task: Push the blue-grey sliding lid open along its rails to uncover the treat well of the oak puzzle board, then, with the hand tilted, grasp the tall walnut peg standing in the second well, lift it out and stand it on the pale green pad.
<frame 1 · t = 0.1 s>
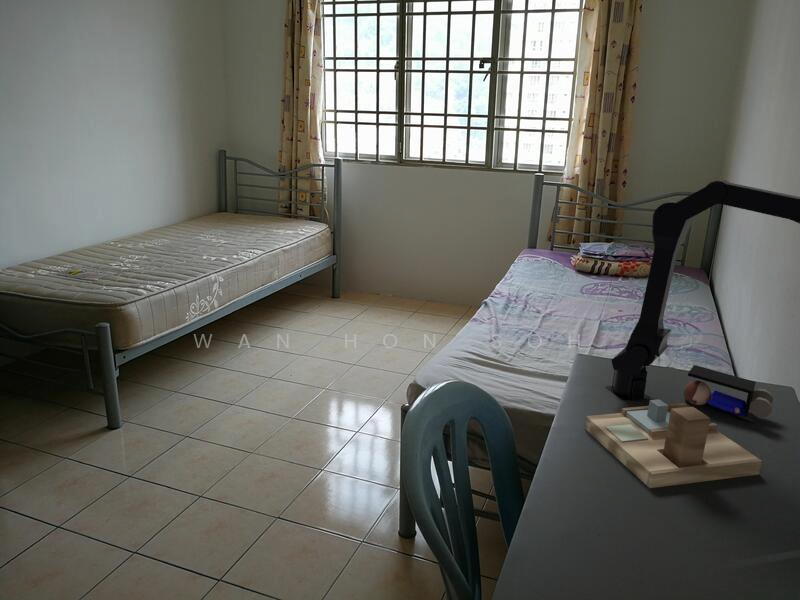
lid: (657, 412, 112), point 5 cm above the table, slide at 0.0 cm
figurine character: (723, 412, 125), on the table
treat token: (653, 435, 113), point 1 cm above the table, touching puzzle board
peg: (679, 470, 102), point 1 cm above the table, touching puzzle board
puzzle board: (666, 453, 108), on the table
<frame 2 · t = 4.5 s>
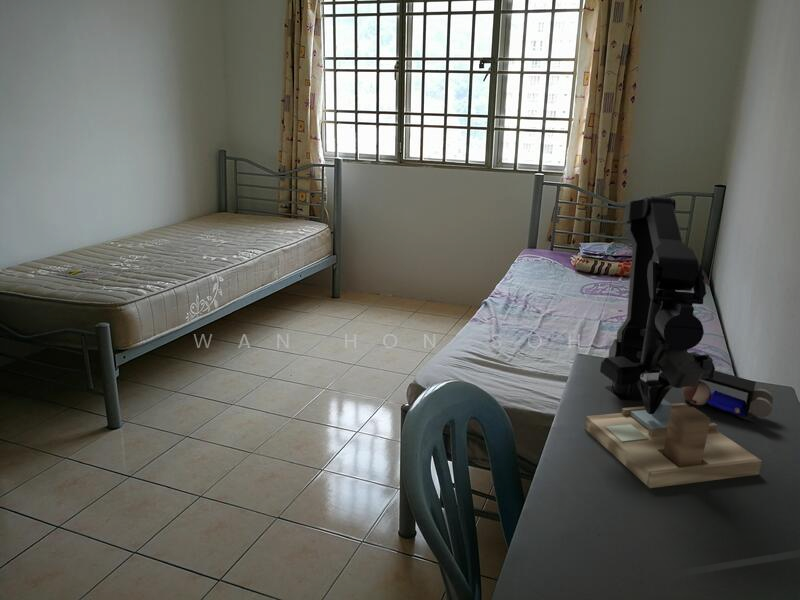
hand: (650, 413, 111), 5 cm above the table, tool pointing down, fingers closed
lid: (661, 412, 112), point 5 cm above the table, slide at 0.9 cm, touching gripper
everything else where it was.
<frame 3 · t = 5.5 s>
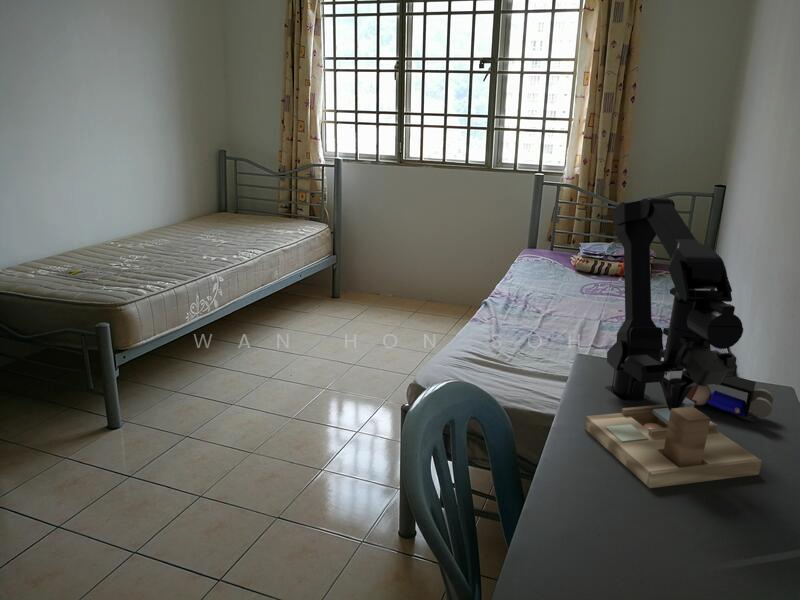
hand: (672, 411, 112), 5 cm above the table, tool pointing down, fingers closed
lid: (683, 410, 113), point 5 cm above the table, slide at 5.4 cm, touching gripper
everything else where it was.
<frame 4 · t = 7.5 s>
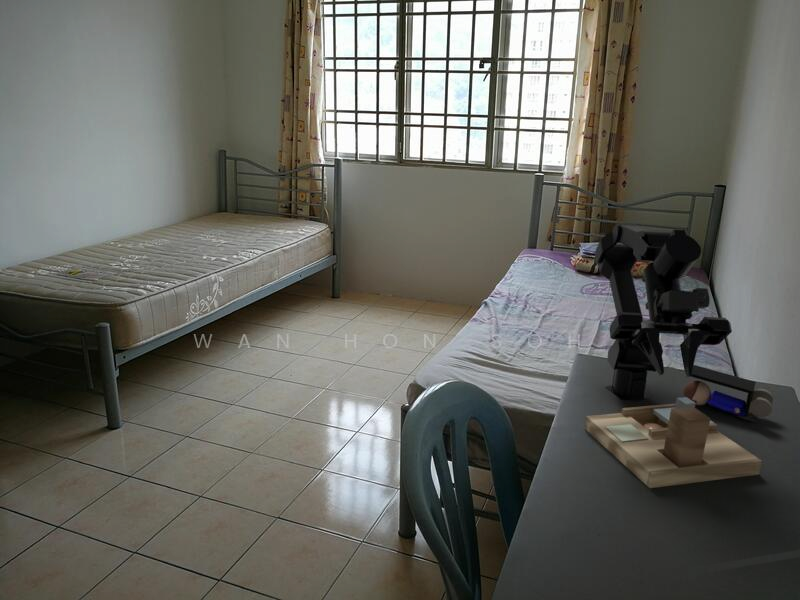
hand: (675, 375, 106), 14 cm above the table, tool tilted 45°, fingers open, 4 cm apart
lid: (684, 410, 113), point 5 cm above the table, slide at 5.5 cm
everything else where it was.
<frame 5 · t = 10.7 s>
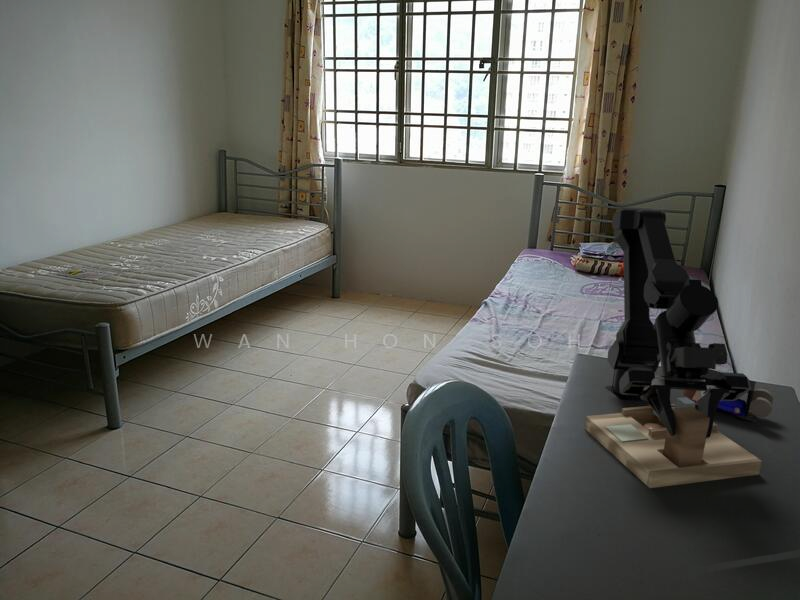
hand: (690, 436, 99), 7 cm above the table, tool tilted 45°, fingers closed on peg, 5 cm apart
peg: (679, 470, 102), point 1 cm above the table, touching gripper, puzzle board
everything else where it was.
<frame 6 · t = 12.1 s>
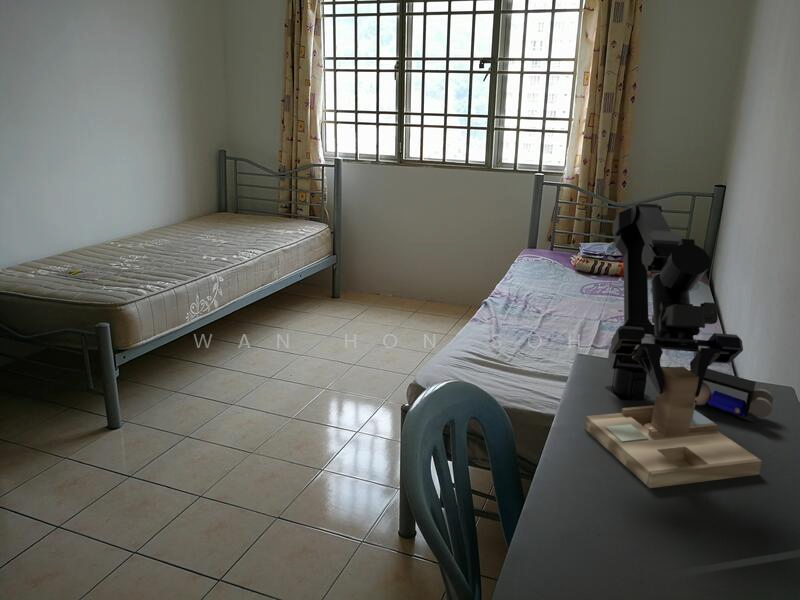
hand: (678, 395, 99), 13 cm above the table, tool tilted 45°, fingers closed on peg, 5 cm apart
peg: (669, 430, 102), point 7 cm above the table, touching gripper
everything else where it was.
when the fingers open (11 cm above the table, at t = 13.5 s): peg drops 1 cm, resting on puzzle board.
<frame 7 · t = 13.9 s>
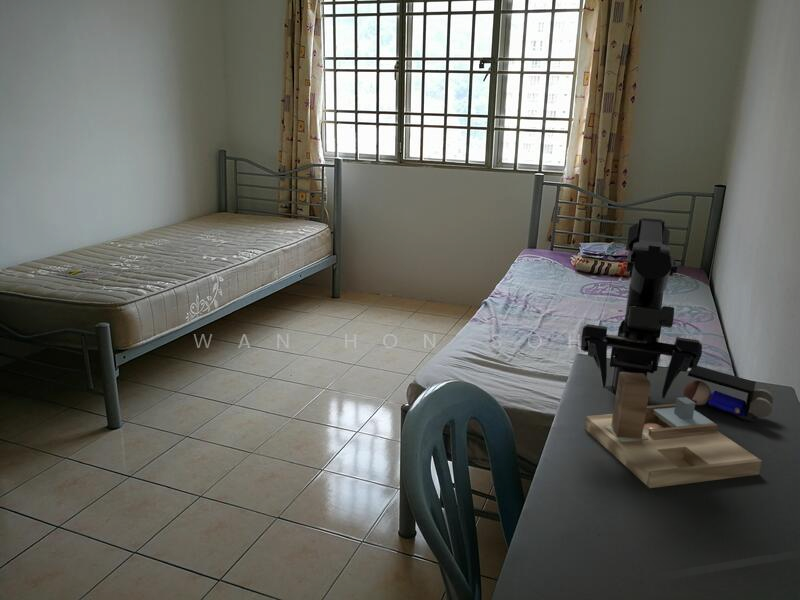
hand: (633, 392, 104), 11 cm above the table, tool tilted 45°, fingers open, 9 cm apart
peg: (626, 432, 108), point 3 cm above the table, touching puzzle board
everything else where it was.
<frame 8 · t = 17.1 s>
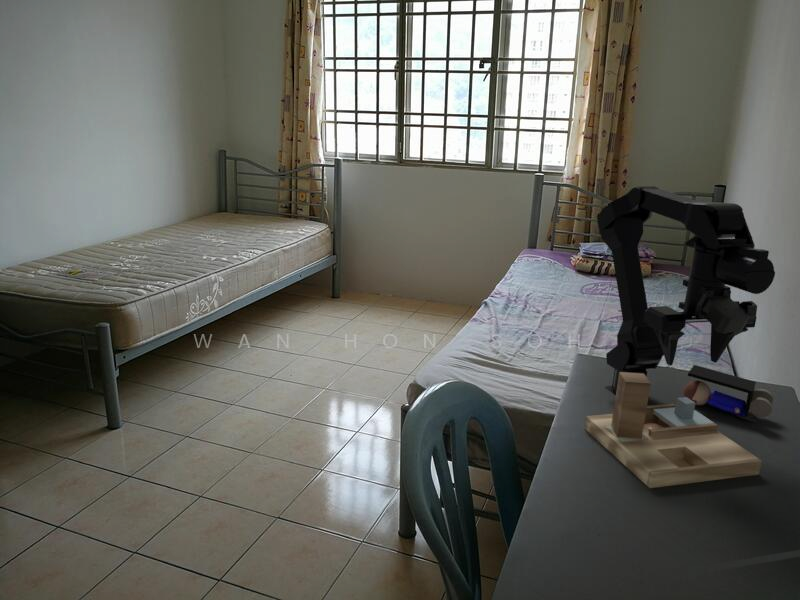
hand: (691, 363, 113), 13 cm above the table, tool pointing down, fingers open, 9 cm apart
nothing on the table moved.
at the end: lid slide at 5.5 cm; peg 0.1 cm from the target spot, point 3.2 cm above the table; peg tilted 0° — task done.
